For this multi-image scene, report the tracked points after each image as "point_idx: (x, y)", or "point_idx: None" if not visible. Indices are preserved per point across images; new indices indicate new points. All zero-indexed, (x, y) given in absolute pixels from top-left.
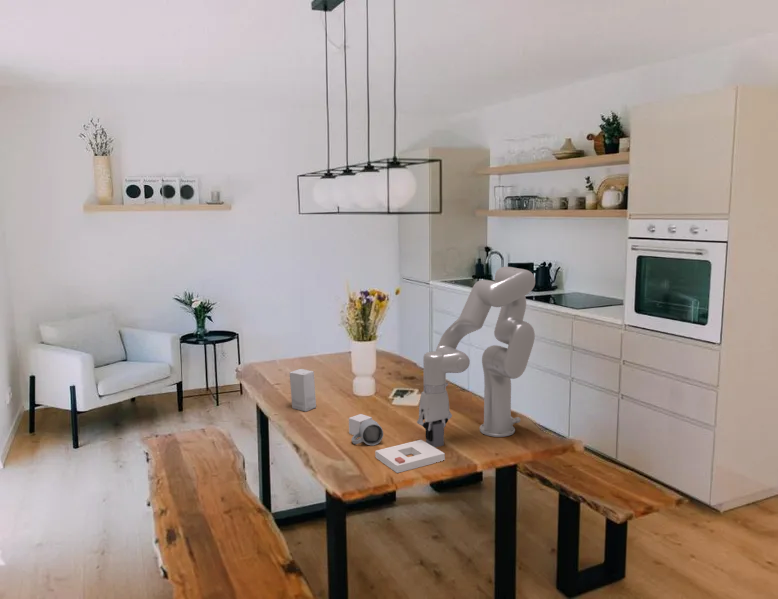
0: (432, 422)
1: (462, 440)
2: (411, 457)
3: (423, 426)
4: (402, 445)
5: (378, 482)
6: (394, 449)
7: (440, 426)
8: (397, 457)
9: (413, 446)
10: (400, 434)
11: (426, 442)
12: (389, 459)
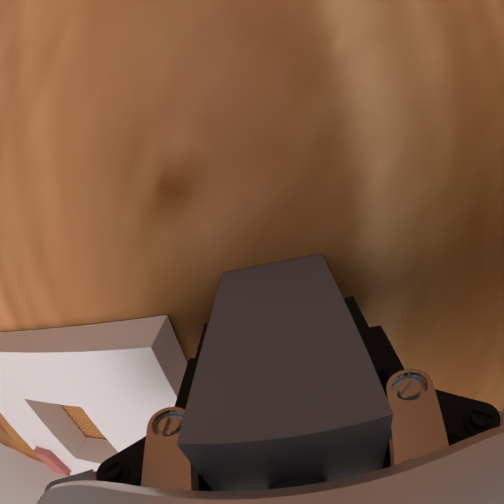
0: (260, 489)
1: (473, 308)
2: (89, 465)
3: (133, 457)
4: (33, 368)
5: (29, 451)
6: (10, 383)
7: None
8: (39, 439)
9: (90, 408)
10: (85, 34)
11: (223, 279)
12: (19, 433)
